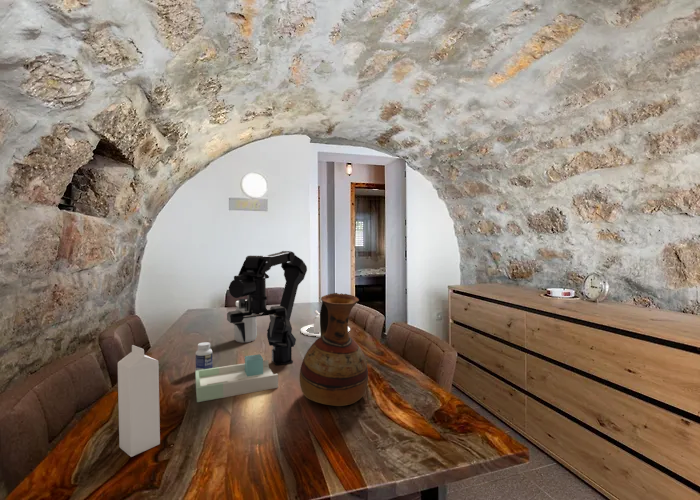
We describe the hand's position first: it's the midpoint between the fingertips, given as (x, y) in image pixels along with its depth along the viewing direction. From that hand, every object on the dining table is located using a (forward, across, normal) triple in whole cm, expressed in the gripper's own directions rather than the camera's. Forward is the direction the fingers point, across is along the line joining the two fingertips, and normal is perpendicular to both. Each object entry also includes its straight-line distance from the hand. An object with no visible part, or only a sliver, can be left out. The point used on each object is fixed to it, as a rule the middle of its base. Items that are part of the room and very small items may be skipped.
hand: (257, 339), depth 118 cm
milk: (+12, +35, +26) cm, 45 cm away
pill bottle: (+12, +15, -14) cm, 24 cm away
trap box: (+12, +8, +5) cm, 15 cm away
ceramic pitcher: (+12, -13, +28) cm, 33 cm away
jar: (+13, -8, -45) cm, 48 cm away
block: (+10, +2, +2) cm, 11 cm away
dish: (+14, -47, -40) cm, 63 cm away
